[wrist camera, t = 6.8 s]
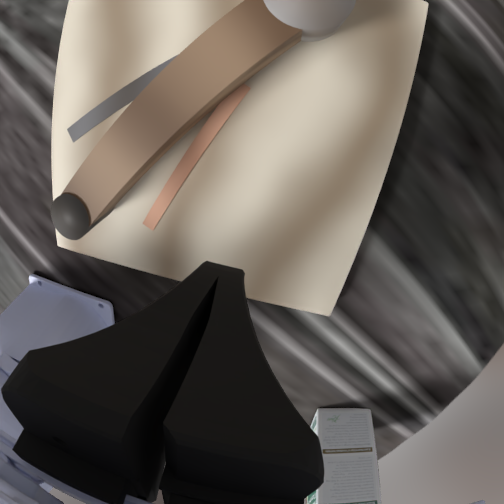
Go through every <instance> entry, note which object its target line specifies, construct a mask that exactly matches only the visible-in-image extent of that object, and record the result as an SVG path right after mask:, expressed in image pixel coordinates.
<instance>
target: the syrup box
mask: <svg viewBox="0 0 504 504" xmlns="http://www.w3.org/2000/svg"><path fill="white" fill-rule="evenodd" d="M310 428H311V429H312V430H313V431H314V432H315V434H316V435H317V436H318V437H319V441H320V445H321V450H322V455H323V462H324V483H323V484H322V485H321V486H320V487H319V488H318V489H317V490H316V491H314V492H313V493H311V494H310V495H309V496H307V500H306V504H381V492H380V480H379V469H378V461H377V452H376V445H375V436H374V428H373V421H372V415H371V410H370V409H362V408H318V409H317V412H316V414H315V416H314V419H313V421H312V424H311V427H310Z"/></svg>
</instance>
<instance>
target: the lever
mask: <svg viewBox="0 0 504 504" xmlns="http://www.w3.org/2000/svg"><path fill="white" fill-rule="evenodd" d="M355 3H356V0H244V1H243V2H241V3H240V4H239V5H237V6H236V7H235V8H233V9H232V10H231V11H229V12H228V13H227V14H226V15H224V16H223V17H222V18H221V19H219V20H218V21H217V22H216V23H214V24H213V25H212V26H211V27H209V28H208V29H207V30H206V31H205V32H203V33H202V34H201V35H200V36H199V37H198V38H197V39H195V40H194V41H193V42H192V43H191V44H190V45H189V46H187V47H186V48H185V49H184V50H183V51H182V52H181V53H180V54H179V55H178V56H177V57H176V58H174V59H173V60H172V61H171V62H170V63H169V64H168V65H167V66H166V67H165V68H164V69H163V70H162V71H161V72H160V73H159V74H158V75H157V76H156V77H155V78H154V79H153V80H152V81H151V82H150V83H149V84H148V85H147V86H146V87H145V89H144V90H143V91H142V92H141V93H140V94H139V95H138V96H137V97H136V98H135V99H134V100H133V102H132V103H131V104H130V105H129V106H128V107H127V108H126V109H125V111H124V112H123V113H122V114H121V115H120V116H119V118H118V119H117V120H116V121H115V122H114V123H113V125H112V126H111V127H110V128H109V130H108V131H107V132H106V133H105V134H104V136H103V137H102V138H101V139H100V141H99V142H98V143H97V145H96V146H95V147H94V148H93V150H92V151H91V152H90V154H89V155H88V156H87V158H86V159H85V160H84V162H83V163H82V165H81V166H80V167H79V169H78V170H77V172H76V173H75V174H74V176H73V177H72V179H71V180H70V182H69V183H68V185H67V186H66V188H65V189H64V191H63V192H62V194H61V195H60V196H58V197H57V198H56V199H55V200H54V201H53V203H52V205H51V218H52V221H53V224H54V226H55V228H56V229H57V230H58V232H59V233H60V234H61V235H62V236H64V237H65V238H67V239H70V240H78V239H81V238H82V237H83V236H84V235H85V234H87V233H88V232H89V231H90V230H91V229H92V228H94V227H95V226H96V225H97V224H98V223H100V222H101V221H102V220H103V219H104V218H106V217H107V216H108V215H109V214H110V213H111V212H112V211H113V210H114V208H115V206H116V204H117V203H118V202H119V201H120V200H121V199H122V198H123V197H124V196H125V195H126V193H127V192H128V191H129V190H130V189H131V188H132V187H133V186H134V185H135V184H136V183H137V182H138V181H139V179H140V178H141V177H142V176H143V175H144V174H145V173H146V172H147V171H148V170H149V169H150V168H151V167H152V166H153V165H154V164H155V163H156V162H157V161H158V160H159V159H160V158H161V157H162V156H163V155H164V154H165V153H166V152H167V151H168V150H169V149H170V148H171V147H172V146H173V145H174V144H175V143H176V142H177V141H178V140H180V139H181V138H182V137H183V136H184V135H185V134H186V133H187V132H188V131H189V130H190V129H191V128H192V127H194V126H195V125H196V124H197V123H198V122H199V121H200V120H201V119H202V118H204V117H205V116H206V115H207V114H208V113H209V112H210V111H211V110H213V109H214V108H215V107H216V106H217V105H218V104H220V103H221V102H222V101H223V100H224V99H225V98H227V97H228V96H229V95H230V94H231V93H233V92H234V91H235V90H236V89H238V88H239V87H240V86H241V85H242V84H244V83H245V82H246V81H247V80H249V79H250V78H251V77H253V76H254V75H255V74H256V73H258V72H259V71H260V70H262V69H263V68H264V67H266V66H267V65H268V64H270V63H271V62H272V61H274V60H275V59H276V58H278V57H279V56H280V55H282V54H283V53H284V52H286V51H287V50H289V49H290V48H292V47H293V46H294V45H296V44H297V43H299V42H300V41H304V42H314V41H320V40H323V39H326V38H328V37H330V36H331V35H333V34H334V33H335V32H336V31H337V30H338V29H339V28H340V26H341V25H342V24H343V22H344V21H345V20H346V18H347V17H348V16H349V15H350V13H351V12H352V10H353V8H354V6H355Z"/></svg>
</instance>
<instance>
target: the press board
mask: <svg viewBox="0 0 504 504" xmlns="http://www.w3.org/2000/svg"><path fill="white" fill-rule="evenodd" d="M243 1H244V0H69V3H68V7H67V12H66V16H65V21H64V26H63V31H62V37H61V42H60V49H59V55H58V62H57V70H56V79H55V88H54V100H53V116H52V187H53V201H54V200H55V199H56V198H57V197H58V196H60V195H61V194H62V192H63V191H64V189H65V188H66V186H67V185H68V183H69V182H70V180H71V179H72V177H73V176H74V174H75V173H76V172H77V170H78V169H79V167H80V166H81V165H82V163H83V162H84V160H85V159H86V158H87V156H88V155H89V154H90V152H91V151H92V150H93V148H94V147H95V146H96V145H97V143H98V142H99V141H100V139H101V138H102V137H103V136H104V134H105V133H106V132H107V131H108V130H109V128H110V127H111V126H112V125H113V123H114V122H115V121H116V120H117V119H118V118H119V116H120V115H121V114H122V113H123V112H124V111H125V109H126V108H127V107H128V106H129V105H130V104H131V103H132V102H133V100H134V99H135V98H136V97H137V96H138V95H139V94H140V93H141V92H142V91H143V90H144V89H145V87H146V86H147V85H148V84H149V83H150V82H151V81H152V80H153V79H154V78H155V77H156V76H157V75H158V74H159V73H160V72H161V71H162V70H163V69H164V68H165V67H166V66H167V65H168V64H169V63H170V62H171V61H172V60H173V59H174V58H176V57H177V56H178V55H179V54H180V53H181V52H182V51H183V50H184V49H185V48H186V47H187V46H189V45H190V44H191V43H192V42H193V41H194V40H195V39H197V38H198V37H199V36H200V35H201V34H202V33H203V32H205V31H206V30H207V29H208V28H209V27H211V26H212V25H213V24H214V23H216V22H217V21H218V20H219V19H221V18H222V17H223V16H224V15H226V14H227V13H228V12H229V11H231V10H232V9H233V8H235V7H236V6H237V5H239V4H240V3H241V2H243ZM428 4H429V3H427V2H425V1H423V0H356V3H355V6H354V8H353V10H352V12H351V13H350V15H349V16H348V17H347V18H346V20H345V21H344V22H343V24H342V25H341V26H340V28H339V29H338V30H337V31H336V32H335V33H334V34H333V35H331V36H330V37H328V38H326V39H323V40H320V41H314V42H304V41H300V42H299V43H297V44H296V45H294V46H293V47H292V48H290V49H289V50H287V51H286V52H284V53H283V54H282V55H280V56H279V57H278V58H276V59H275V60H274V61H272V62H271V63H270V64H268V65H267V66H266V67H264V68H263V69H262V70H260V71H259V72H258V73H256V74H255V75H254V76H253V77H251V78H250V79H249V80H247V81H246V82H245V83H244V84H242V85H241V86H240V87H239V88H238V89H236V90H235V91H234V92H233V93H231V94H230V95H229V96H228V97H227V98H225V99H224V100H223V101H222V102H221V103H220V104H218V105H217V106H216V107H215V108H214V109H213V110H211V111H210V112H209V113H208V114H207V115H206V116H205V117H204V118H202V119H201V120H200V121H199V122H198V123H197V124H196V125H195V126H194V127H192V128H191V129H190V130H189V131H188V132H187V133H186V134H185V135H184V136H183V137H182V138H181V139H180V140H178V141H177V142H176V143H175V144H174V145H173V146H172V147H171V148H170V149H169V150H168V151H167V152H166V153H165V154H164V155H163V156H162V157H161V158H160V159H159V160H158V161H157V162H156V163H155V164H154V165H153V166H152V167H151V168H150V169H149V170H148V171H147V172H146V173H145V174H144V175H143V176H142V177H141V178H140V179H139V181H138V182H137V183H136V184H135V185H134V186H133V187H132V188H131V189H130V190H129V191H128V192H127V193H126V195H125V196H124V197H123V198H122V199H121V200H120V201H119V202H118V203H117V204H116V206H115V208H114V210H113V211H112V212H111V213H110V214H109V215H108V216H107V217H106V218H104V219H103V220H102V221H101V222H100V223H98V224H97V225H96V226H95V227H94V228H92V229H91V230H90V231H89V232H88V233H87V234H85V235H84V236H83V237H82V238H81V239H78V240H70V239H67V238H65V237H64V236H62V235H61V234H60V233H59V232H58V230H57V229H56V236H57V244H58V246H59V247H62V248H66V249H69V250H72V251H75V252H79V253H82V254H85V255H89V256H92V257H95V258H99V259H102V260H106V261H109V262H112V263H116V264H119V265H123V266H126V267H130V268H134V269H137V270H141V271H144V272H148V273H152V274H155V275H159V276H163V277H166V278H170V279H174V280H178V281H183V280H184V279H185V278H186V277H187V276H189V275H190V274H191V273H192V272H193V271H194V270H196V269H197V268H198V267H199V266H200V265H201V264H202V263H203V262H205V261H209V262H213V263H218V264H222V265H226V266H230V267H234V268H239V269H243V271H244V272H245V276H244V284H245V293H246V298H250V299H254V300H258V301H263V302H267V303H271V304H276V305H280V306H285V307H289V308H294V309H298V310H303V311H307V312H312V313H317V314H322V315H326V316H330V314H331V312H332V310H333V308H334V306H335V303H336V301H337V299H338V297H339V294H340V292H341V290H342V287H343V285H344V283H345V280H346V278H347V276H348V273H349V271H350V269H351V266H352V264H353V261H354V259H355V256H356V254H357V251H358V249H359V246H360V244H361V241H362V239H363V236H364V234H365V231H366V228H367V226H368V223H369V220H370V218H371V215H372V212H373V210H374V207H375V204H376V201H377V199H378V196H379V193H380V190H381V187H382V184H383V181H384V178H385V175H386V172H387V169H388V166H389V163H390V160H391V157H392V154H393V150H394V147H395V144H396V141H397V137H398V134H399V131H400V127H401V124H402V120H403V117H404V113H405V109H406V106H407V102H408V98H409V94H410V90H411V86H412V82H413V78H414V74H415V70H416V66H417V61H418V57H419V52H420V47H421V43H422V38H423V33H424V27H425V22H426V16H427V10H428Z"/></svg>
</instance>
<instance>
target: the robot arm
mask: <svg viewBox="0 0 504 504" xmlns="http://www.w3.org/2000/svg"><path fill="white" fill-rule="evenodd" d="M244 276H245V272H244V271H243V269H239V268H234V267H230V266H226V265H222V264H218V263H213V262H209V261H205V262H203V263H202V264H201V265H200V266H199V267H198V268H197V269H196V270H194V271H193V272H192V273H191V274H190V275H189V276H187V277H186V278H185V279H184V280H183V281H181V282H180V283H179V284H178V285H176V286H175V287H174V288H173V289H171V290H170V291H169V292H167V293H166V294H164V295H163V296H161V297H160V298H159V299H157V300H156V301H154V302H153V303H151V304H150V305H148V306H147V307H145V308H143V309H142V310H140V311H138V312H137V313H135V314H133V315H131V316H129V317H128V318H126V319H124V320H122V321H120V322H118V323H115V321H114V312H113V305H112V304H111V303H110V302H109V301H107V300H104V299H101V298H98V297H95V296H92V295H89V294H86V293H83V292H80V291H77V290H75V289H72V288H69V287H66V286H64V285H61V284H58V283H56V282H53V281H50V280H48V279H45V278H43V277H40V276H37V275H35V274H31V275H30V276H29V281H30V285H29V286H28V287H27V288H26V289H25V290H24V291H23V292H22V293H21V294H20V295H19V296H18V297H17V298H16V299H15V300H14V301H13V302H12V303H11V304H10V305H9V306H8V307H7V308H6V309H5V310H4V311H3V312H2V314H1V315H0V504H64V503H63V502H62V501H60V500H59V499H57V498H55V497H54V496H53V495H51V494H50V493H49V492H50V491H51V489H52V488H53V487H54V488H56V489H58V490H60V491H62V492H63V493H65V494H67V495H69V496H71V497H73V498H75V499H77V500H79V501H82V502H84V503H86V504H153V503H152V502H154V501H156V498H157V494H158V490H159V489H160V490H162V495H163V499H164V504H304V498H306V497H307V496H309V495H310V494H311V493H313V492H314V491H316V490H317V489H318V488H319V487H320V486H321V485H322V484H323V483H324V462H323V455H322V450H321V445H320V441H319V437H318V436H317V435H316V434H315V432H314V431H313V430H312V429H311V428H310V426H309V425H308V424H307V423H306V422H305V420H304V419H303V418H302V416H301V415H300V414H299V413H298V411H297V410H296V408H295V407H294V406H293V404H292V403H291V401H290V400H289V398H288V397H287V395H286V394H285V392H284V390H283V389H282V387H281V385H280V384H279V382H278V380H277V379H276V377H275V375H274V374H273V372H272V370H271V368H270V366H269V364H268V362H267V360H266V358H265V356H264V353H263V351H262V349H261V346H260V344H259V341H258V339H257V336H256V333H255V330H254V327H253V324H252V320H251V317H250V313H249V309H248V304H247V299H246V293H245V284H244ZM165 462H166V465H165ZM164 466H165V468H164ZM163 470H164V471H163ZM162 474H163V475H162ZM471 504H485V501H484V500H481V501H478V502H474V503H471Z"/></svg>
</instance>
